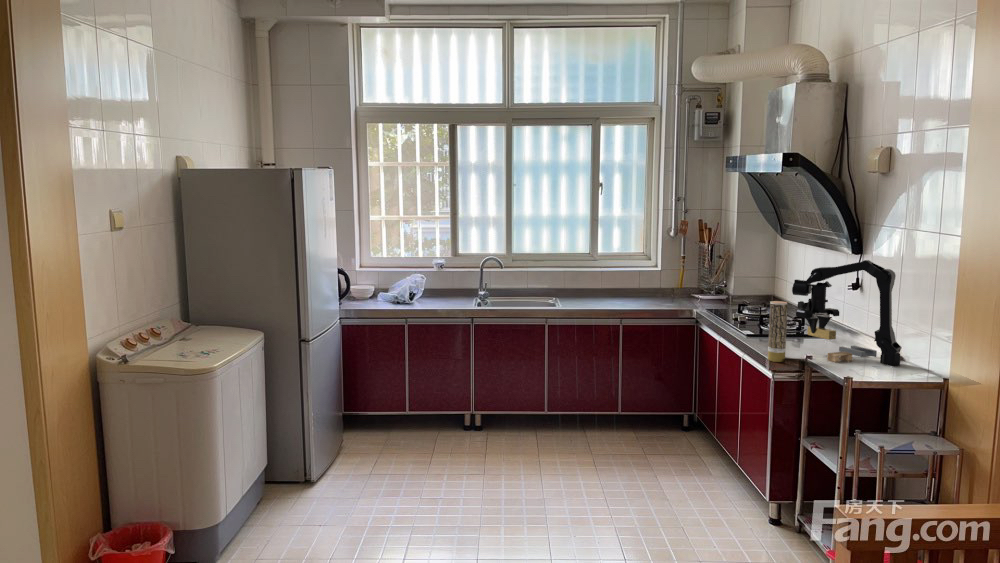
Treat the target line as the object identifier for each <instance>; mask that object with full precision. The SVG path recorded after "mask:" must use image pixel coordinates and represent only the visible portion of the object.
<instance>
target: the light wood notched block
mask: <svg viewBox="0 0 1000 563" xmlns="http://www.w3.org/2000/svg"><path fill="white" fill-rule="evenodd" d="M826 358H827V359H826V360H827V362H830V363H831V362H832V363H836V364H837V363H840V361H844V362H845V361H846V362H852V361H853V355H852V353H848V352H840V351H837V352H827V357H826Z"/></svg>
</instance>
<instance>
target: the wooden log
mask: <svg viewBox="0 0 1000 563" xmlns="http://www.w3.org/2000/svg"><path fill="white" fill-rule="evenodd" d="M769 302H770V303H769V320H768V321H769V323H768V344H767V345H768V346H767V360H768V361H769V362H774V363H784V362H785V359H786V350H787V348H786V346H787V327H788V302H787V301H782V300H781V301H780V300H773V301H772V300H771V301H769Z"/></svg>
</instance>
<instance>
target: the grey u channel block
mask: <svg viewBox="0 0 1000 563" xmlns="http://www.w3.org/2000/svg"><path fill="white" fill-rule="evenodd" d="M838 352H848V353H852V356H857V357H861V358H862V357H874V358H877V352H878V351H877V350H875V349H871V348H866V347H863V346H858V345H850V347H846V346H839V347H838Z"/></svg>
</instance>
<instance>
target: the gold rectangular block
mask: <svg viewBox="0 0 1000 563" xmlns="http://www.w3.org/2000/svg"><path fill="white" fill-rule="evenodd" d="M807 335H808V336H812V337H814V338H815V337H816V338H821V339H825V340H829V341H831V340H837V338H836V337H837V330H835V329H831V328H826V327H825V328H821V327H819V326H816V330H815V333H812V332H811V329H810V326H809V325H808V326H807Z"/></svg>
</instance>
